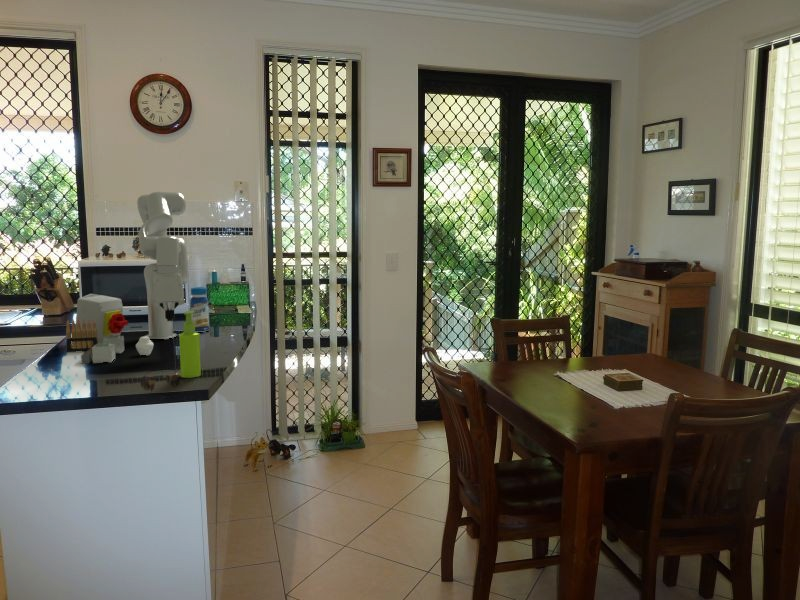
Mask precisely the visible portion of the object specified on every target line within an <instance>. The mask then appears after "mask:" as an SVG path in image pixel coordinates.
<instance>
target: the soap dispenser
mask: <svg viewBox="0 0 800 600" xmlns="http://www.w3.org/2000/svg"><path fill="white" fill-rule="evenodd" d="M192 313H195V311H190V310H186V311H185V312H184V313H183V315H184V316H185V321H184V322H183V323H182V326H183V332H181V333H180V334H179V335H178V337H179V360H180V361H179V362H180V365H179V366H180V377H181V378H183V379H185V378H186V379H188V378H189V379H191V378H193V379H194V378H197V377H200V376H202V374H201V373H202V371H201V370H202V369H201V343H200V333H196V332H195V323H194V322H193V321H192Z"/></svg>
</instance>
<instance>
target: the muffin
mask: <svg viewBox="0 0 800 600" xmlns="http://www.w3.org/2000/svg"><path fill="white" fill-rule="evenodd" d="M138 339H139V340H138V342H137V343H136V344H135V348H136V351H137V352H138V354H139V355H140V356H141V355H146V356H150V355H151V353H152V352H153V349H154V346H155V345H154V342H153V341H152V340H150V338H149V337H147V336H146V335H144V336H140V337H139V338H138Z"/></svg>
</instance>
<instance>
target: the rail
mask: <svg viewBox="0 0 800 600" xmlns="http://www.w3.org/2000/svg"><path fill="white" fill-rule="evenodd" d="M124 351H125V338H124V335H121V334H120V335H108V336H107V337H105V338H104V339H103V343H97V344H96V345H94V346H93V347H92V348H90V349H89V350H88V351H84V352H83V354H81V355H80V357H81V358H80V360H81V365H88V364H89V363H90V362H91V363H92V364H100V363H101V364H103V362H108V363H113V362H114V361H115V360H116V354H122V353H123V352H124ZM114 359H115V360H114ZM113 360H114V361H113ZM112 361H113V362H112ZM83 363H84V364H83ZM86 363H87V364H86ZM91 363H90V364H91Z"/></svg>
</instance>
